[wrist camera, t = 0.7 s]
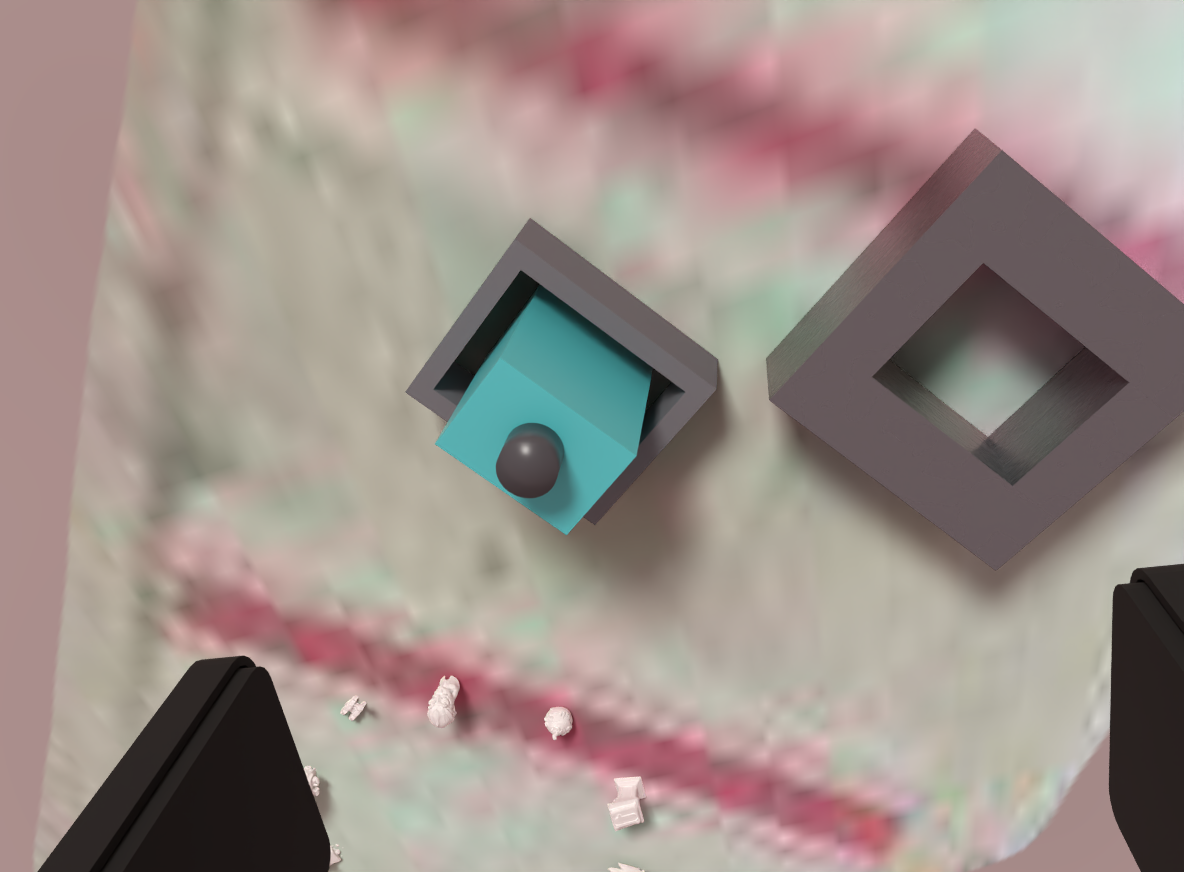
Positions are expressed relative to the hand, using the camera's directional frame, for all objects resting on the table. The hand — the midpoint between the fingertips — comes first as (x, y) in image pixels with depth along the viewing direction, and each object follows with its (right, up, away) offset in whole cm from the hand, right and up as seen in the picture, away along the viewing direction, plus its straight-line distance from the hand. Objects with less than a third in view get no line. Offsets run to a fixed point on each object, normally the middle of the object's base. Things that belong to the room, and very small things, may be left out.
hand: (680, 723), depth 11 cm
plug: (-2, +6, +30) cm, 31 cm away
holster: (-2, +6, +30) cm, 31 cm away
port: (+13, +7, +27) cm, 31 cm away
